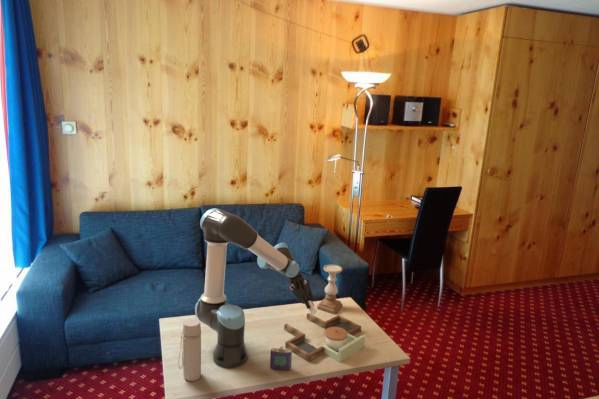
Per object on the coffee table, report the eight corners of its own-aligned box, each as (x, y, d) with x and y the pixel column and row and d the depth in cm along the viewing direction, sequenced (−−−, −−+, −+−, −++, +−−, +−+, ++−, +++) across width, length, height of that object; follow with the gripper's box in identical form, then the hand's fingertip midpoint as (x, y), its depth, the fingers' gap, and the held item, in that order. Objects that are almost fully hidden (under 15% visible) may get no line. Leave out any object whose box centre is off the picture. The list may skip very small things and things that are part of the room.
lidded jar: (343, 340, 218) (345, 323, 216) (348, 353, 208) (350, 335, 205) (322, 341, 217) (323, 323, 214) (325, 354, 206) (327, 335, 204)
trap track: (268, 337, 217) (269, 326, 216) (321, 311, 245) (322, 301, 243) (324, 372, 193) (325, 359, 192) (376, 339, 221) (377, 328, 219)
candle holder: (334, 314, 242) (337, 273, 237) (316, 308, 248) (319, 268, 242) (342, 306, 252) (346, 267, 246) (325, 301, 257) (328, 262, 251)
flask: (291, 367, 195) (292, 345, 193) (290, 371, 192) (291, 349, 190) (270, 365, 196) (271, 344, 193) (269, 370, 193) (270, 347, 190)
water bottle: (199, 369, 190) (199, 316, 184) (202, 380, 183) (202, 325, 177) (177, 373, 187) (176, 319, 181) (179, 384, 180) (178, 329, 174)
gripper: (297, 271, 235) (318, 312, 228) (279, 277, 225) (300, 320, 218) (305, 265, 230) (327, 306, 223) (287, 271, 221) (309, 315, 214)
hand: (314, 313), depth 221 cm, fingers closed
